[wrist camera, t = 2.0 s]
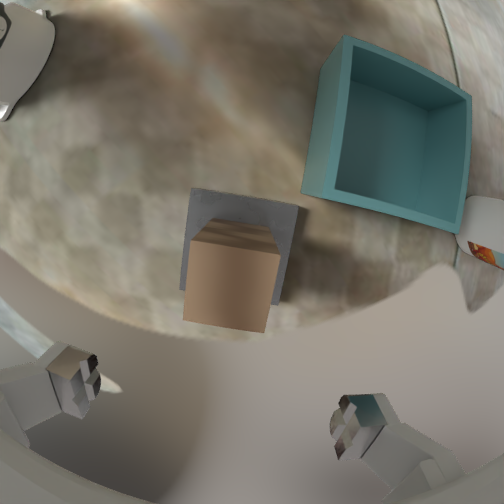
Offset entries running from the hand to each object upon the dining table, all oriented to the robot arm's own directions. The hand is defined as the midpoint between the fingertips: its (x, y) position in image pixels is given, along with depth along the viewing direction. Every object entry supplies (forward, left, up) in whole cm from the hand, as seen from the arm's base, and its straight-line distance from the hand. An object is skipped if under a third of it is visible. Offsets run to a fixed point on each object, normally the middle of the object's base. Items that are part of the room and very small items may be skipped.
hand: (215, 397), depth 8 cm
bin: (+12, +13, -20) cm, 27 cm away
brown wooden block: (0, 0, -19) cm, 19 cm away
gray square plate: (0, 0, -20) cm, 20 cm away
